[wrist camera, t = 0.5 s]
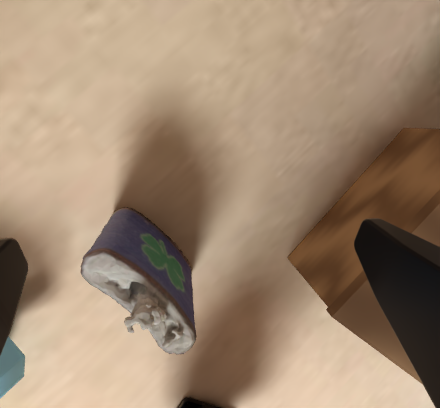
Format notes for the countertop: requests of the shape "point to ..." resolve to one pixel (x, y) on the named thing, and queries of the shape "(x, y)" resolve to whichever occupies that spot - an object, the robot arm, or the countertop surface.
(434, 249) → the robot arm
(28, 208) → the countertop surface
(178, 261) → the flask
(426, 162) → the recipe box
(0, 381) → the teapot
